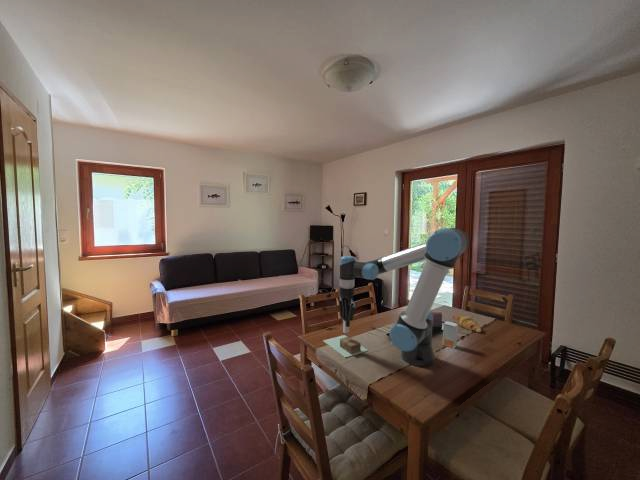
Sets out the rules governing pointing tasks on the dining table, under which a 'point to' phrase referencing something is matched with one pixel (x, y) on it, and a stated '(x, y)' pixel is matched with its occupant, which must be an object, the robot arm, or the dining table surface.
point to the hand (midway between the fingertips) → (346, 332)
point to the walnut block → (350, 345)
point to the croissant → (467, 323)
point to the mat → (335, 345)
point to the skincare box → (450, 334)
